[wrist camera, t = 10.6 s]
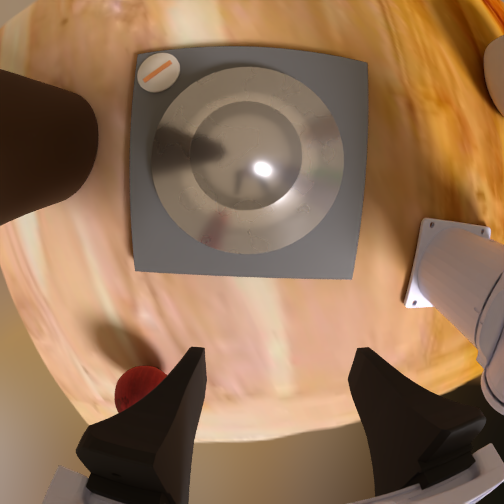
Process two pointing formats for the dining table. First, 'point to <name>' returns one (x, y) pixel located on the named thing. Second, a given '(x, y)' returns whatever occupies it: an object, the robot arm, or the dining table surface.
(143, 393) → the onion
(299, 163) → the cylinder
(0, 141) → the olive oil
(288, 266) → the scale base
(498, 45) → the teacup
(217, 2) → the dining table surface
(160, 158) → the scale pan
